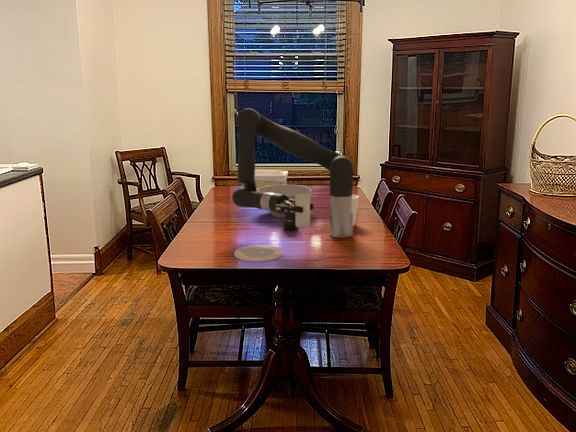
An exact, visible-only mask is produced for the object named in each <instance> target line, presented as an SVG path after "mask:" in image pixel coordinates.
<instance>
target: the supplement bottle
mask: <svg viewBox="0 0 576 432" xmlns="http://www.w3.org/2000/svg"><path fill="white" fill-rule="evenodd" d="M282 229H283V230H284V231H290V232H293V231H296V230H299V227H296V222H295V212H290V213H283V217H282Z"/></svg>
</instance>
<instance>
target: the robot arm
mask: <svg viewBox="0 0 576 432" xmlns="http://www.w3.org/2000/svg"><path fill="white" fill-rule="evenodd" d="M236 121H237V129H238V130H237V131H238V141H239V142H238V144H239V145H238V146H239V147H238V161H237V174H236V176H237V181H238V183H241V184H242V186H243V185H244V189H243V188H239V189H236V190H235V191H233V193H232V198H231V199H232V202H233V204H234V205H235V206H237V207H241V208H255V209H259V210H264V211H267V212H269V211H270V212H269V213H271V212H275V213H281V214H282V213H290V212H298V213H303V207H300V206H295V200H293V199H288V197H287V196H286V195H284V194H278V193H268V192H261V191H257V189H256V184H255V180H254V175H255V170H256V153H255V149H256V148H255V146H256V135H257V136H259V137H263V138H264V139H266V140H267V141H269V142H271V143H272V144H273V145H275V146H276V147H278V148H279V149H281V150H283V151H284V152H286V153H288V154H290V155H292V156H294V157H295V158H298V159H301V160H304V161H308V162H311V163H314V164H317V165H319V166H321V167H323V168H325V170H328V171H329V235H330V237H333V238H350V237H353V236H354V235H353V232H354V230H353V229H354V226H353V214H352V194H353V189H354V185H353V184H354V166H353V161H352V159H351V158H350V157H348V156H347V155H344V154H341V153H338V152H336V151H334V150H331V149H329V148H327V147H325V146H322V144H319V143H318V142H316V141H315V140H313V139H312V138H309V137H308V136H307V135H304V134H302V133H301V132H298V131H297V130H294V129H292V128H290V127H286V126H284V125H281V124H278V123H276V122H273V121H272V120H271V119H270V120H269V119H268V118H266V117H265V116H264V115H262V114H260V113H259V111H256V110H255V109H252V108H250V107H249V108H244V109H242V110H240V111H239V112H238V114H237V117H236ZM314 207H315V206H314V204H313V203H311V202H310V211H312V210H314Z"/></svg>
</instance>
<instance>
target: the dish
mask: <svg viewBox="0 0 576 432" xmlns="http://www.w3.org/2000/svg"><path fill="white" fill-rule="evenodd" d="M233 255H234V257H235V258H236V259H238V260H239V261H245V262H252V263H253V262H254V263H256V262H257V263H261V262H262V263H263V262H264V263H265V262H271V261H273V260H276V259H279V258H281V257H282V256H283V249H281V248H279V247H277V246H273V245H268V244H256V245H255V244H253V245H247V246H242V247H239V248H237V249H236V250H235V251H234V254H233Z"/></svg>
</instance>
